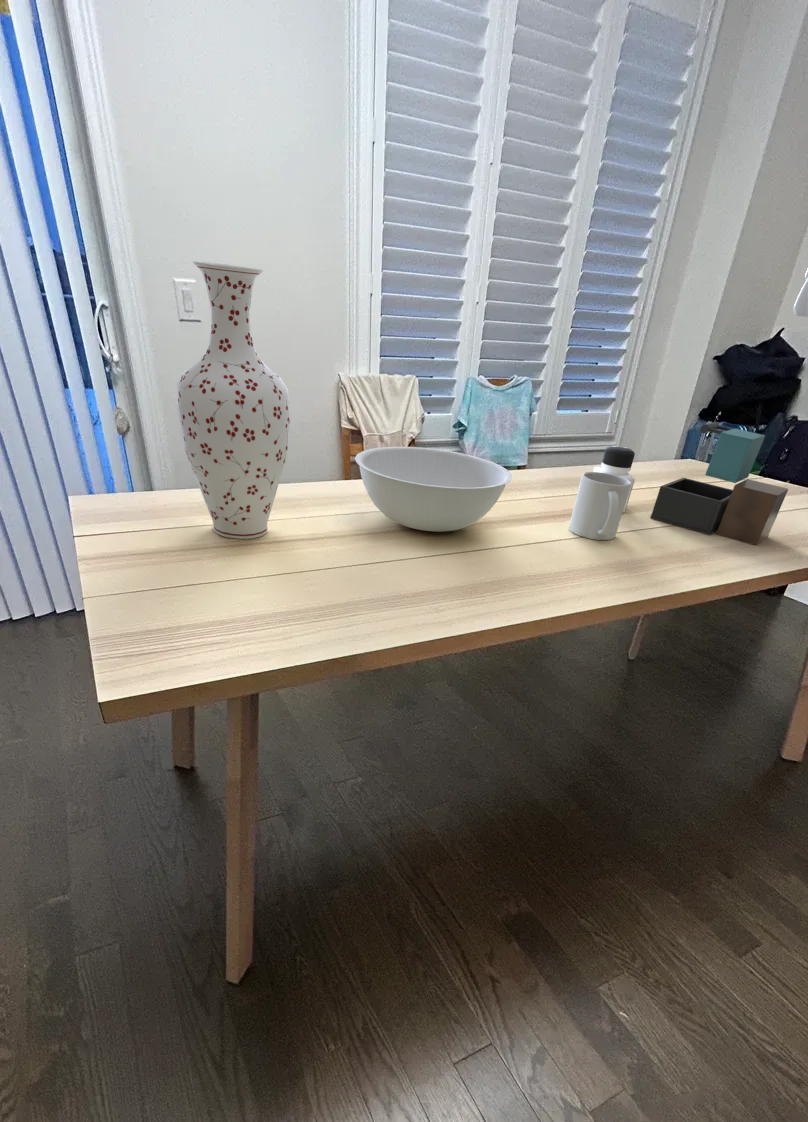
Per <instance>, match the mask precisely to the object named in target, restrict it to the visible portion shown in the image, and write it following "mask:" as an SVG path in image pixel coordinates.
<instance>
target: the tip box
mask: <svg viewBox="0 0 808 1122" xmlns="http://www.w3.org/2000/svg"><path fill="white" fill-rule="evenodd" d="M699 432H700V433H701V434H708V433H714V434H718V435H719V437H718V439H717V442H716V445H715V448H714V451H713V454H712V456H711V458H710V461H709V464H708V465H707V466H708V467H707V469H706V471H705V474H704V476H706V477H710V478H714V479H717V480H722V481H725V482H729V483H733V484H738V483H740V482H742V481H744V480H746V479H748V478H749V477H750V473H751V471H752V469H753V467H754V464H755V462H756V459H757V457H758V454H759V452H760V449H761V447H762V445H763V443H764V440H765V437H766V435H765V434H761V433H757V432H751V431H747V430H744V429H739V428H731V427H727V426H723V425H720V423H719V422H718V421H714V422H710V423H704V424H702V425H701V426H700V428H699Z"/></svg>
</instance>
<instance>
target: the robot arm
mask: <svg viewBox="0 0 808 1122" xmlns="http://www.w3.org/2000/svg"><path fill="white" fill-rule="evenodd" d="M792 311H793V314H794V315H795V316H796V317H804V318H805V317H806V318H808V268H807V270H806V272H805V275H804V283H803V286H802V287H801V290H800V292H799V293H798V295H797V298H796V300H795V303H794V305H793V307H792ZM806 349H808V345H807V347H806Z"/></svg>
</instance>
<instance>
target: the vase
mask: <svg viewBox="0 0 808 1122" xmlns="http://www.w3.org/2000/svg"><path fill="white" fill-rule="evenodd" d="M192 264H193V265H194V266H196V267H197V268H198V269H199V271H200V272H201V274H202V277H203V280H204V284H205V286H206V291H207V295H208V296H207V297H208V301H209V305H210V317H211V318H210V321H211V322H210V325H211V326H210V327H211V329H210V335H209V340H208V345H207V347H206V350H205V352H204V354H203V355H202V356H201V357H200V359H198V361H196V362H194V363H193V364H192V365H190V366H189V367H188V368H186V369H184V370H183V372H182V373H181V375H180V377H179V379H178V381H177V382H176V412H177V418H178V423H179V429H180V435H181V440H182V445H183V449H184V451H185V454H186V457H187V460H188V462H189V464H190V467H191V470H192V472H193V475H194V478H195V480H196V482H197V485H198V487H199V491H200V493H201V495H202V498H203V500H204V503H205V506H206V508H207V511H208V513H209V516H210V518H211V522H212V531H214V532H215V534H217V535H220V536H221V537H223V538H224V537H225V538H229V539H238V540H246V539H247V540H248V539H249V540H250V539H256V538H259V537H263V536H265V535H266V534H267V533H268V522H269V519H270V515H271V512H272V508H273V504H274V501H275V498H276V494H277V491H278V488H279V485H280V484H279V483H280V480H281V477H282V473H283V471H284V468H285V464H286V460H287V456H288V452H289V441H290V440H289V438H290V425H291V412H292V411H291V404H290V403H291V402H290V395H289V393H290V392H289V389H288V387H287V385H286V384H285V382H284V380H283V379H282V377H281V376H279V375H278V374H277V373H276V372H274V371H273V370H272V369H271V368H269V366H267V365H266V363H265V362H264V361H263V360H262V358H260V355H259V354H258V351H257V350H256V346H255V343H254V339H253V335H252V329H251V317H250V312H251V303H252V295H253V288H254V284H255V282H256V278H257V277H258V276H259V275H260V274H262V273H263V272H264V269H261V268H253V267H246V266H239V265H232V264H224V263H216V262H209V261H199V260H192Z"/></svg>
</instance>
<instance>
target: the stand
mask: <svg viewBox="0 0 808 1122" xmlns="http://www.w3.org/2000/svg"><path fill="white" fill-rule="evenodd" d="M732 490H733V491H732V494H731V496H730V499H729V501H728V504H727V506H726V509H725V512H724V514H723V517H722V519H721V522H720V525H719V527H718V530H717V531H716V532H715V535H718V536H722V537H726V538H729V539H733V540H736V541H740V542H742V543H747V544H749V545H754V546H758V544H761V542H763V541H764V540H765V539H767V538H768V537H769V535H770V533H771V531H772V528H773V526H774V524H775V522H776V520H777V517H778V514H779V512H780V510H781V509H782V505H783V503H784V500H785V499H786V496H787V495H788V491H789V488H787V487H783V486H780V485H779V486H778V485H775V484H771V483H766V482H762V481H758V480H754V479H749V478H746V479H743V480H741V481H739V482H737V483H735V484H734V486H733V488H732Z"/></svg>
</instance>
